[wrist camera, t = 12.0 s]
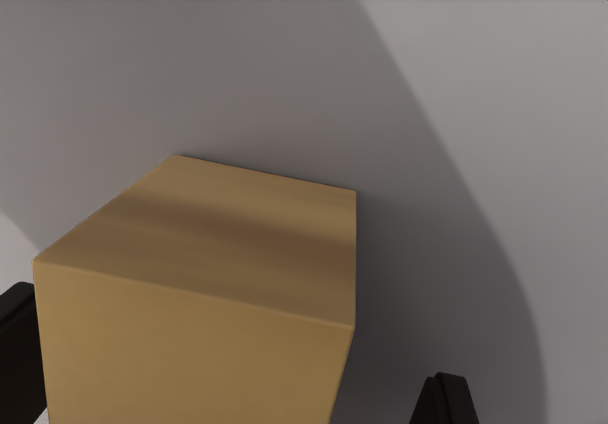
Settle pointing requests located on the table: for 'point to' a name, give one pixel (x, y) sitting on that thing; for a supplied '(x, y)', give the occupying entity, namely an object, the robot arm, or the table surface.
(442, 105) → the table surface
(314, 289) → the banded wooden block
